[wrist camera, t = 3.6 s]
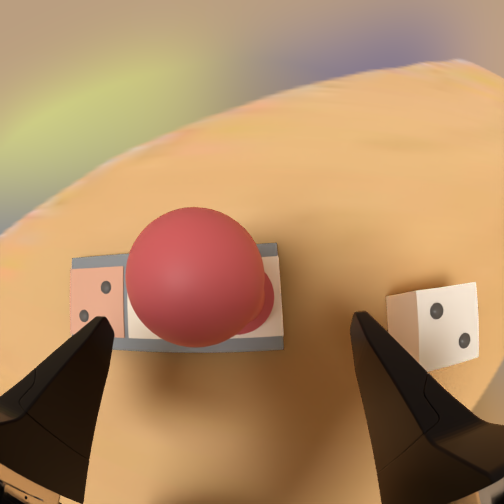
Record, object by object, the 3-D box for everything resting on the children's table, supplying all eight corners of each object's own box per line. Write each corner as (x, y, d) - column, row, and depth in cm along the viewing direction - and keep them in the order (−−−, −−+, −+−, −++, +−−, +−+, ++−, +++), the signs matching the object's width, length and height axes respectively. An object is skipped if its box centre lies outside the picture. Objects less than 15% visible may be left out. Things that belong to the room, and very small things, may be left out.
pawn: (229, 346, 17) (148, 405, 5) (191, 289, 18) (65, 244, 6) (287, 306, 17) (321, 292, 5) (247, 250, 18) (205, 138, 6)
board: (277, 246, 19) (277, 242, 18) (283, 347, 18) (284, 349, 17) (79, 260, 20) (71, 257, 19) (79, 344, 19) (71, 345, 17)
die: (442, 351, 17) (479, 357, 12) (388, 362, 17) (419, 374, 12) (439, 289, 18) (476, 281, 13) (385, 296, 18) (416, 290, 13)
